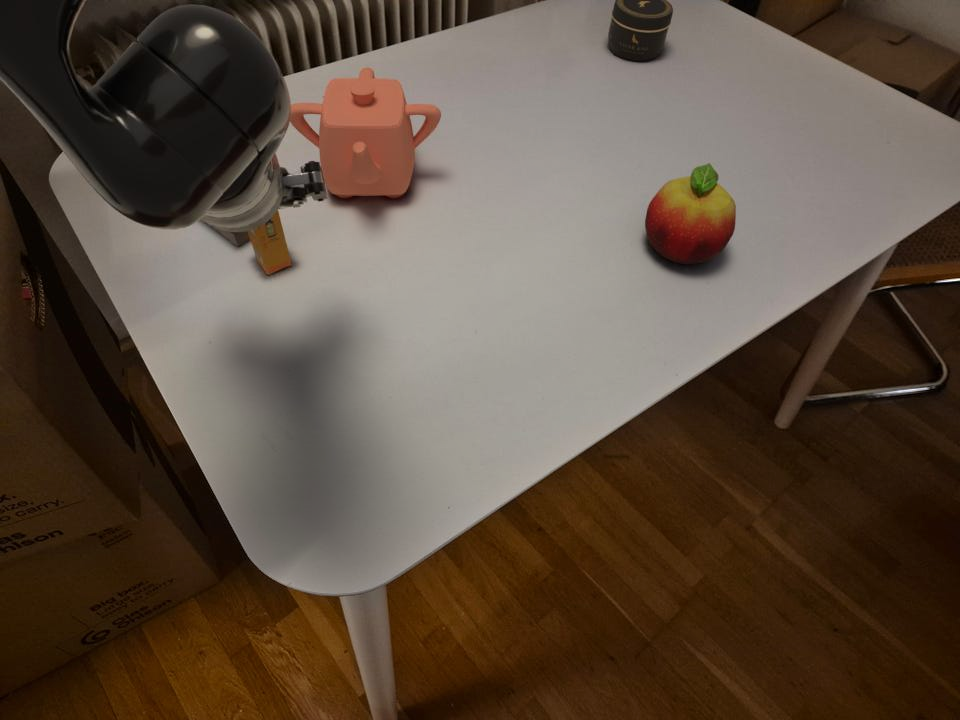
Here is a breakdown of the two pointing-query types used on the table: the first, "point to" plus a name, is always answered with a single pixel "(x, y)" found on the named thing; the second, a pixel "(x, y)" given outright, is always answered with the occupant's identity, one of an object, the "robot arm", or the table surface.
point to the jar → (639, 28)
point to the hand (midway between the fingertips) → (249, 202)
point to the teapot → (365, 135)
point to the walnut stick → (234, 236)
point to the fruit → (691, 217)
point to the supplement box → (270, 245)
